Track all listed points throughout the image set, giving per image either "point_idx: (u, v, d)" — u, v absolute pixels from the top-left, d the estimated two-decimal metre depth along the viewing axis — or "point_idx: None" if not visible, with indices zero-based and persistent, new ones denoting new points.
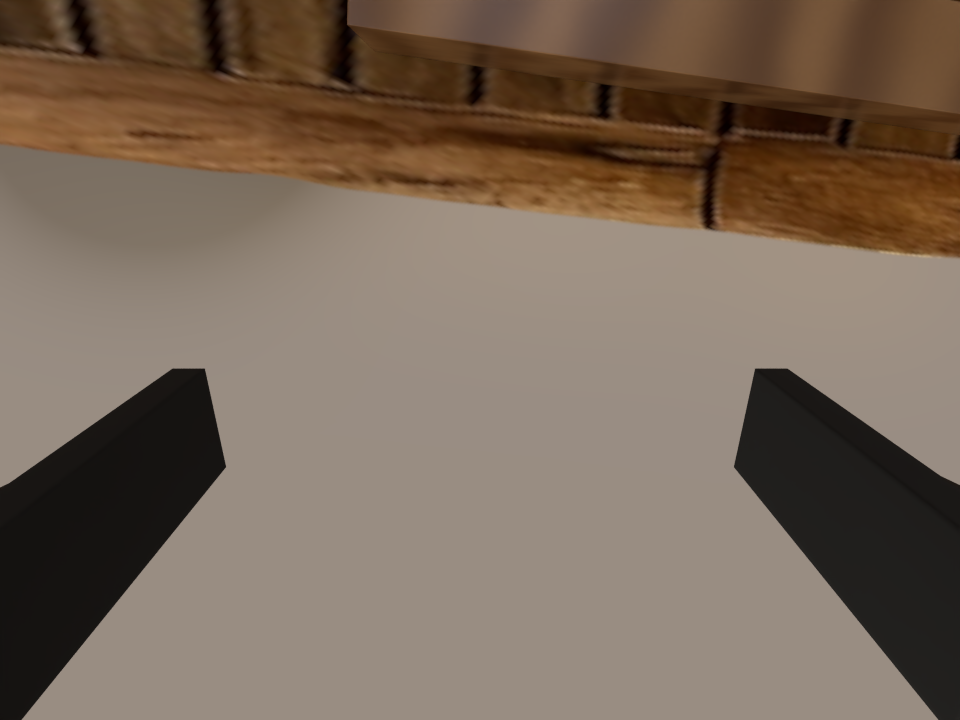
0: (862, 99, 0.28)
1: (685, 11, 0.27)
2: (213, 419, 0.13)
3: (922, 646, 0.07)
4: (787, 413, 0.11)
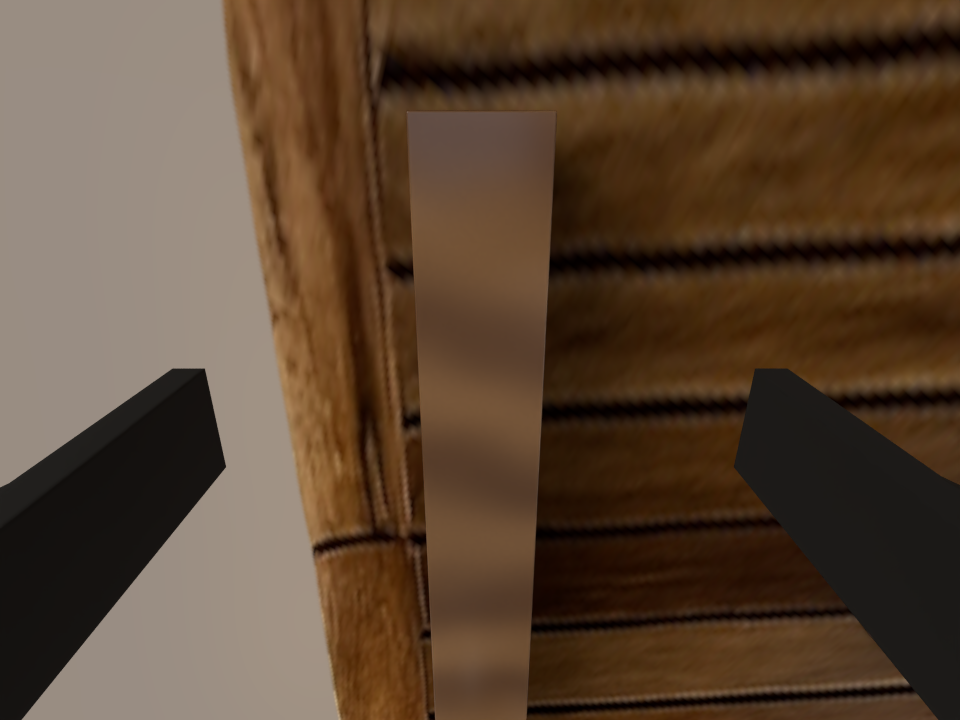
0: (434, 695, 0.27)
1: (487, 534, 0.23)
2: (213, 418, 0.13)
3: (922, 646, 0.07)
4: (786, 412, 0.11)
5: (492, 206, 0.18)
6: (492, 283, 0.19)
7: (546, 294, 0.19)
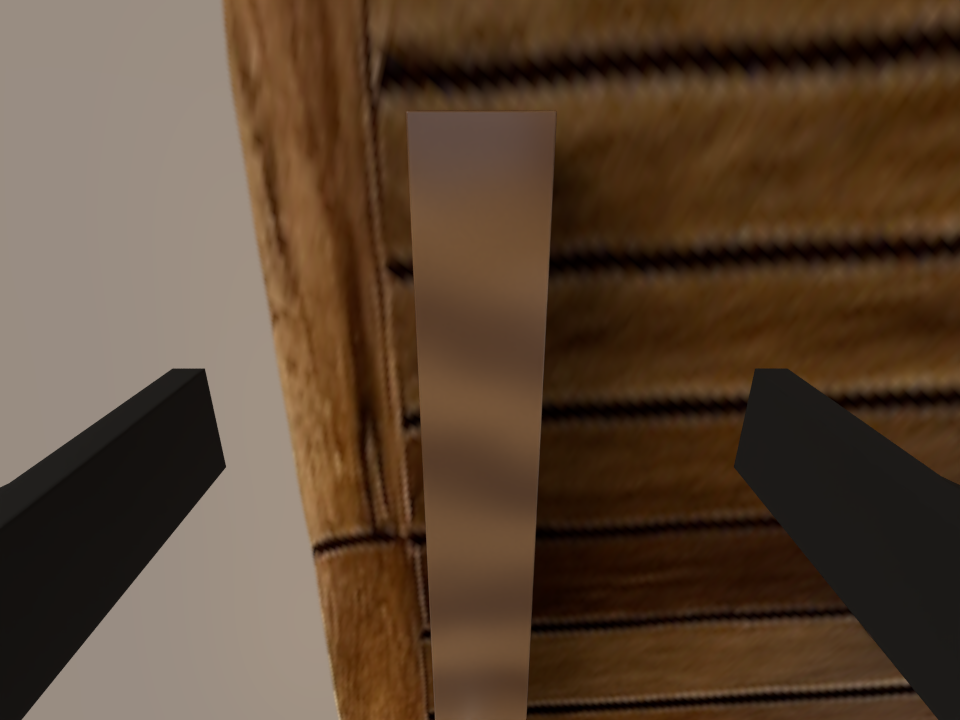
0: (434, 696, 0.27)
1: (486, 534, 0.23)
2: (213, 418, 0.13)
3: (922, 646, 0.07)
4: (786, 412, 0.11)
5: (491, 206, 0.18)
6: (491, 283, 0.19)
7: (546, 294, 0.19)
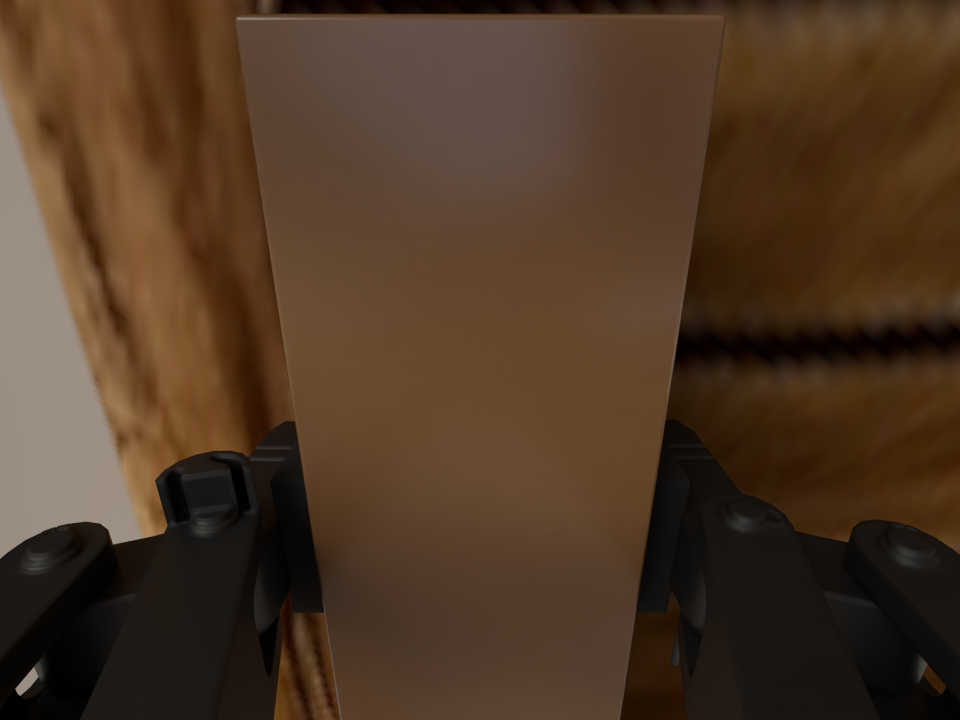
0: None
1: None
2: None
3: None
4: None
5: (511, 305, 0.06)
6: (508, 494, 0.07)
7: (648, 518, 0.07)
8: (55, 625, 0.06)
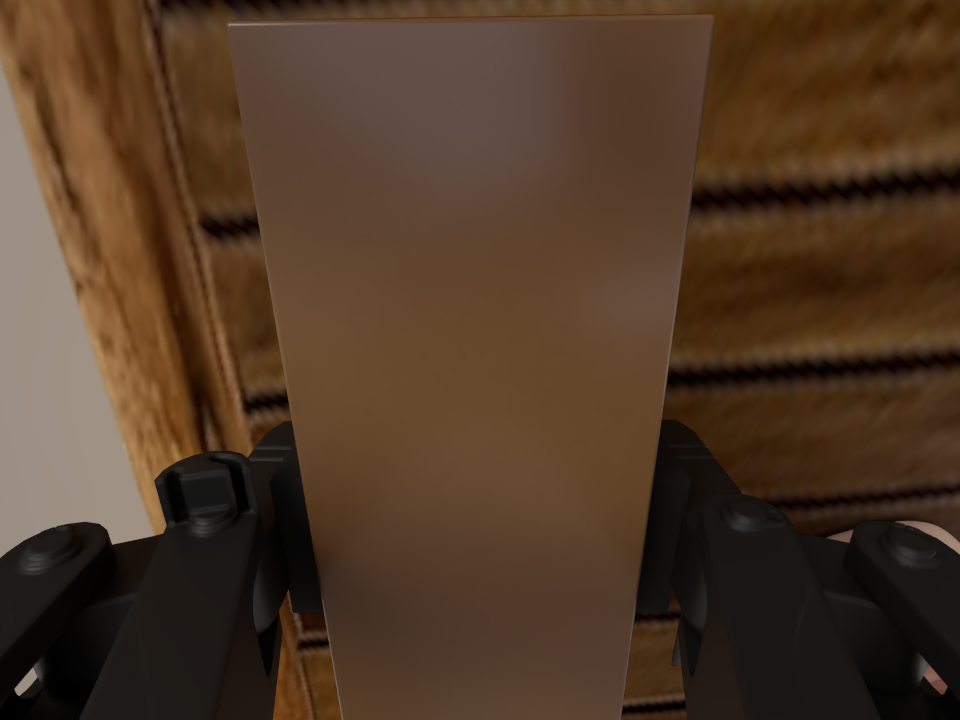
0: None
1: None
2: None
3: None
4: None
5: (505, 307, 0.06)
6: (506, 494, 0.07)
7: (645, 516, 0.07)
8: (54, 625, 0.06)
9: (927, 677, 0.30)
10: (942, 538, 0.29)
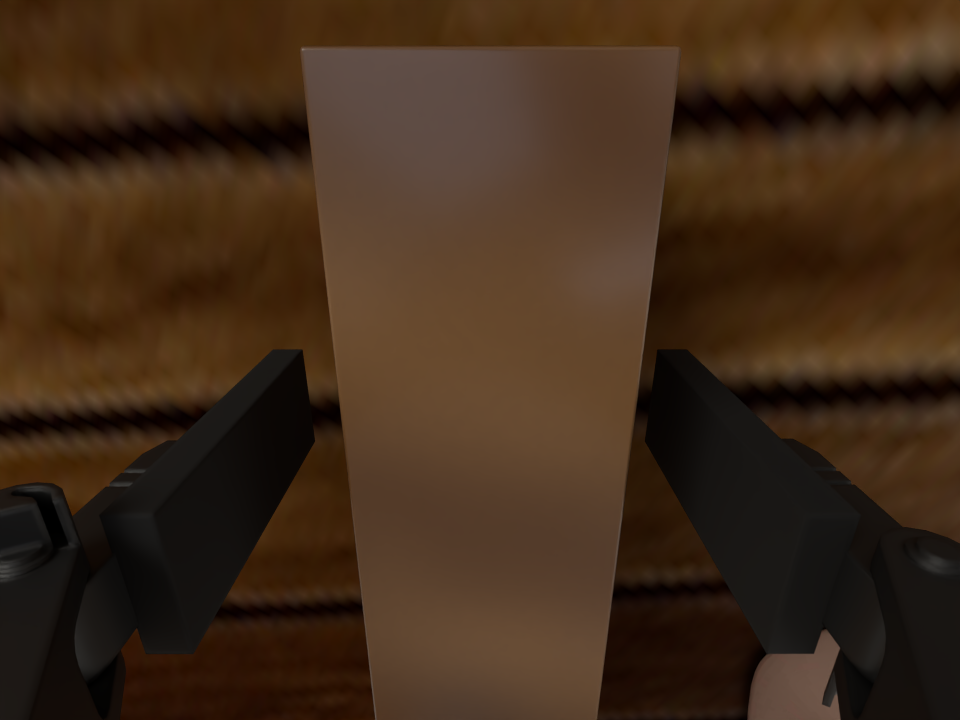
0: None
1: None
2: (306, 396, 0.14)
3: (750, 580, 0.09)
4: (676, 387, 0.12)
5: (513, 276, 0.08)
6: (511, 436, 0.09)
7: (627, 456, 0.09)
8: None
9: None
10: None
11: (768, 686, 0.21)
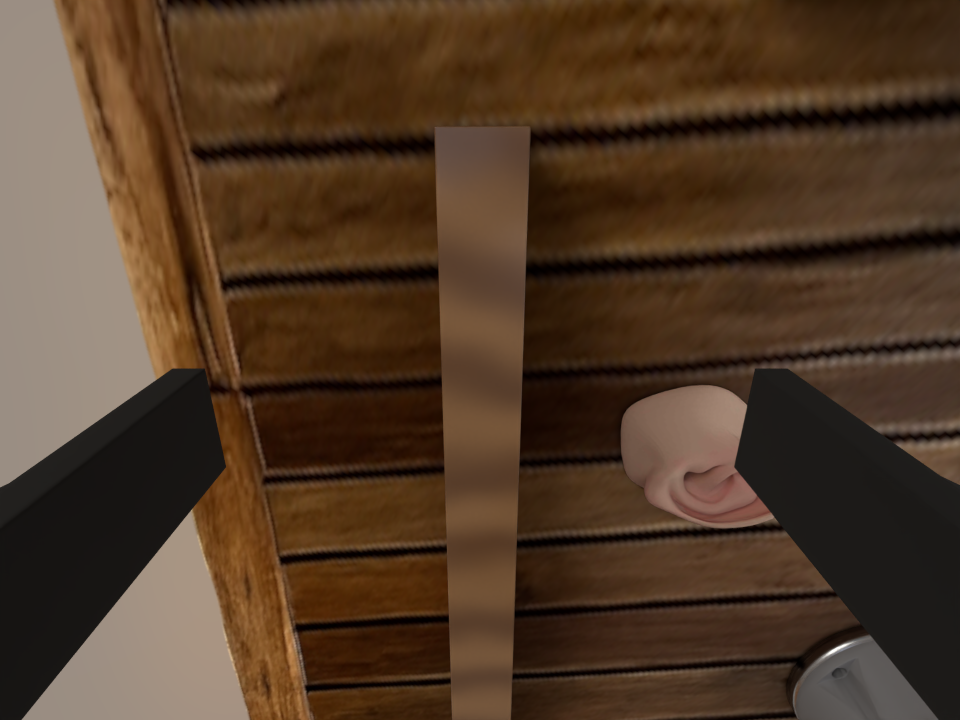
0: (447, 554, 0.37)
1: (486, 423, 0.33)
2: (213, 418, 0.13)
3: (922, 646, 0.07)
4: (786, 412, 0.11)
5: (489, 187, 0.28)
6: (489, 239, 0.29)
7: (525, 247, 0.29)
8: None
9: (723, 505, 0.41)
10: (729, 398, 0.40)
11: (627, 426, 0.41)
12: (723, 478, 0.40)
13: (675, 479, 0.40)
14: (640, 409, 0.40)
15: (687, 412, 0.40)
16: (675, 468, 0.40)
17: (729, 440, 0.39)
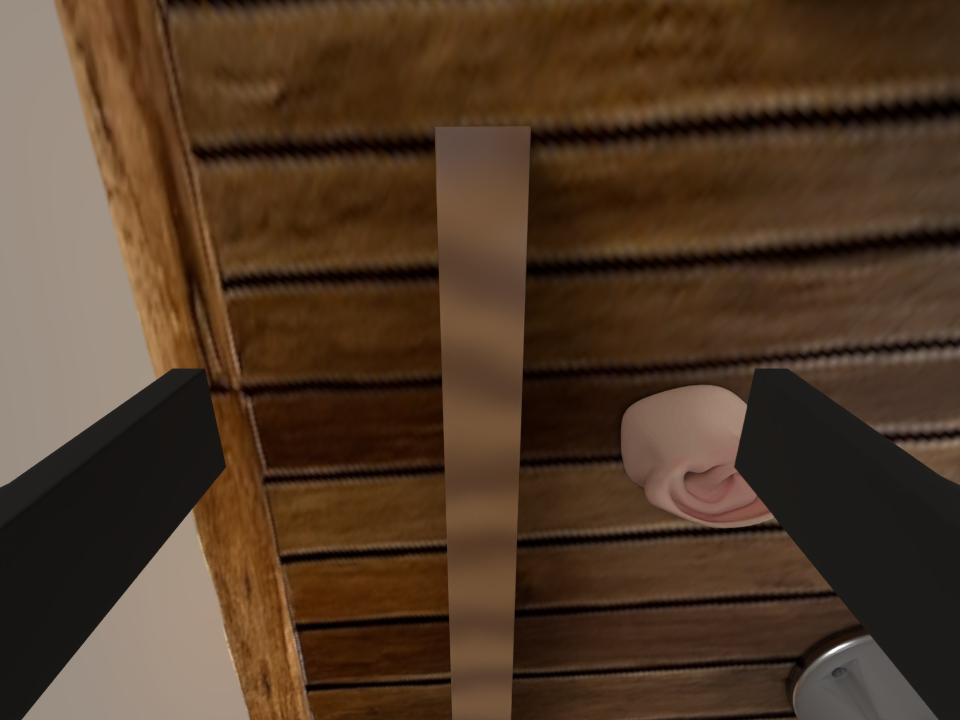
0: (447, 554, 0.37)
1: (486, 422, 0.33)
2: (214, 418, 0.13)
3: (922, 646, 0.07)
4: (787, 413, 0.11)
5: (489, 187, 0.28)
6: (489, 239, 0.29)
7: (525, 247, 0.29)
8: None
9: (723, 504, 0.41)
10: (729, 398, 0.40)
11: (627, 426, 0.41)
12: (723, 478, 0.40)
13: (675, 479, 0.40)
14: (640, 409, 0.40)
15: (687, 412, 0.40)
16: (675, 468, 0.40)
17: (730, 440, 0.39)
